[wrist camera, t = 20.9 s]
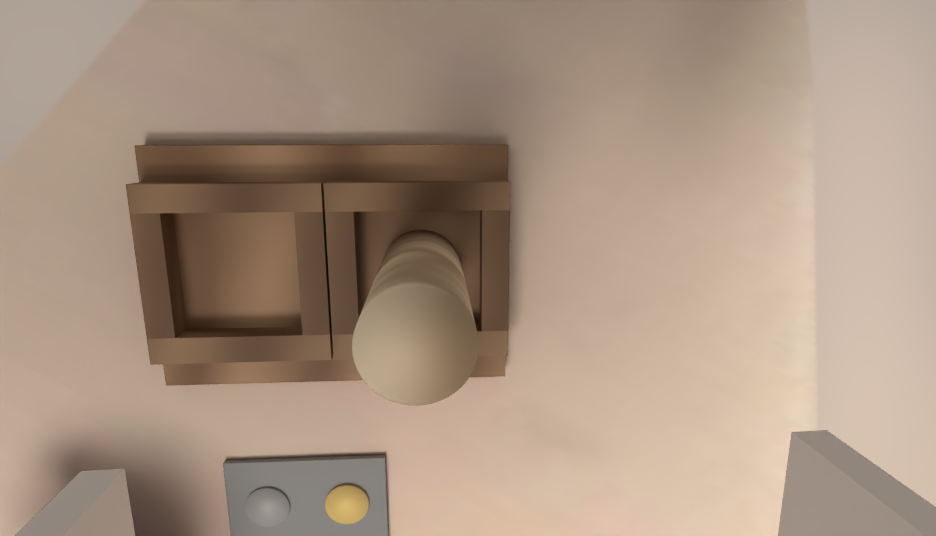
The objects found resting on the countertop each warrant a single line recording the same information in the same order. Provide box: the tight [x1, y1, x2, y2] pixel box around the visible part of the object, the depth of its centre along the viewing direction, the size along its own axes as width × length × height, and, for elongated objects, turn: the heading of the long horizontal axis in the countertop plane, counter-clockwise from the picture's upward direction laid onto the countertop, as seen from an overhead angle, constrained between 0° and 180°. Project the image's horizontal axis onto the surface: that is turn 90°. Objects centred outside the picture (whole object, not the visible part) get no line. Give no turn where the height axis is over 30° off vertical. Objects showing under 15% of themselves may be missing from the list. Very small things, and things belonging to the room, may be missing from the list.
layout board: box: [126, 145, 510, 385], centre depth 25 cm, size 16×11×2 cm
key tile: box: [223, 455, 388, 536], centre depth 29 cm, size 8×5×1 cm, turn 90°
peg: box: [352, 230, 479, 405], centre depth 21 cm, size 4×4×10 cm
